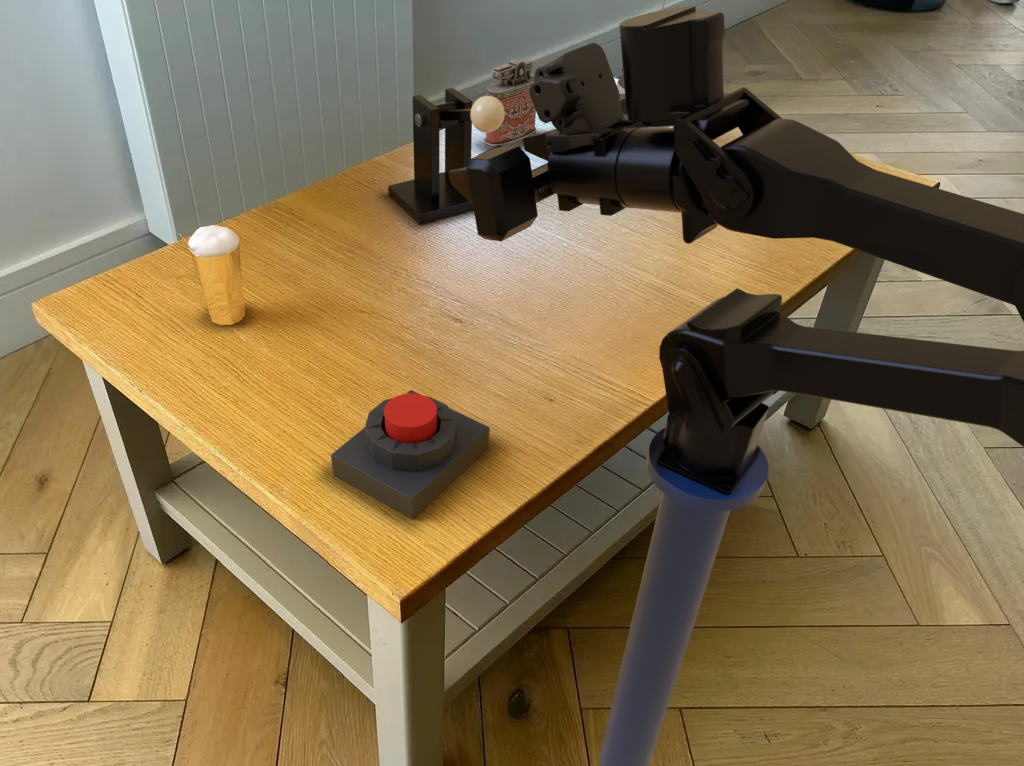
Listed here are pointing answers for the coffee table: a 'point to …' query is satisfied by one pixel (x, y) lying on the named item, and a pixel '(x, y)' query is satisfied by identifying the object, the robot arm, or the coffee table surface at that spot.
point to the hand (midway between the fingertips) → (488, 159)
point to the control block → (409, 459)
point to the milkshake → (219, 272)
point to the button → (410, 418)
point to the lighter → (512, 103)
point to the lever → (473, 114)
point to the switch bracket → (435, 163)
